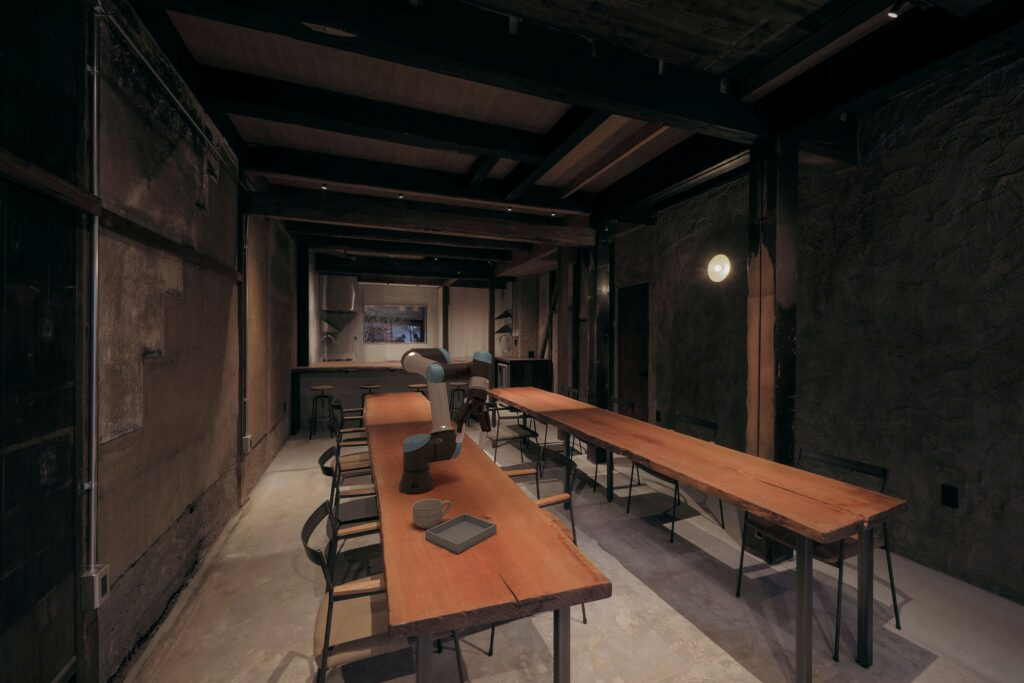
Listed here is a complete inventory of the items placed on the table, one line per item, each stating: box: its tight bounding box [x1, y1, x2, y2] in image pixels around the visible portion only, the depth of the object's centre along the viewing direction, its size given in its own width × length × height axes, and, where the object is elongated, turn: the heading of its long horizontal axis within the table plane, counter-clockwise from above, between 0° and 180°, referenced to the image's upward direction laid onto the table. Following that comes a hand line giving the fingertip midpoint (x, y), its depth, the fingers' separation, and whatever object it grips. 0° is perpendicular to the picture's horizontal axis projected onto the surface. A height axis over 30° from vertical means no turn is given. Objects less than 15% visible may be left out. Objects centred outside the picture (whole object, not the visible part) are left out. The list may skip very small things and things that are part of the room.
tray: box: [424, 512, 497, 555], centre depth 142 cm, size 15×18×3 cm
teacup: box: [412, 498, 452, 530], centre depth 151 cm, size 14×11×8 cm
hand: (470, 446), depth 154 cm, fingers open, 13 cm apart
